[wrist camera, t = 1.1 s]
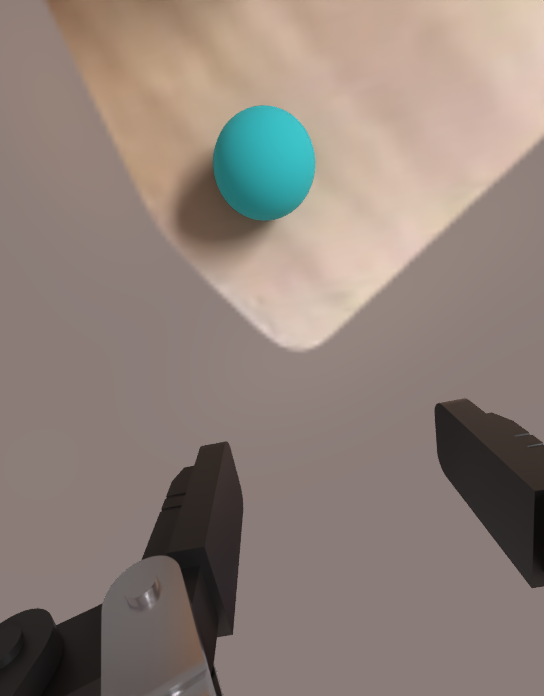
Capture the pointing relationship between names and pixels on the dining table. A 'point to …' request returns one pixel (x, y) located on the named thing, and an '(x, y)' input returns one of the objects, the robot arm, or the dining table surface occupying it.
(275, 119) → the ball
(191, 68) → the dining table surface
